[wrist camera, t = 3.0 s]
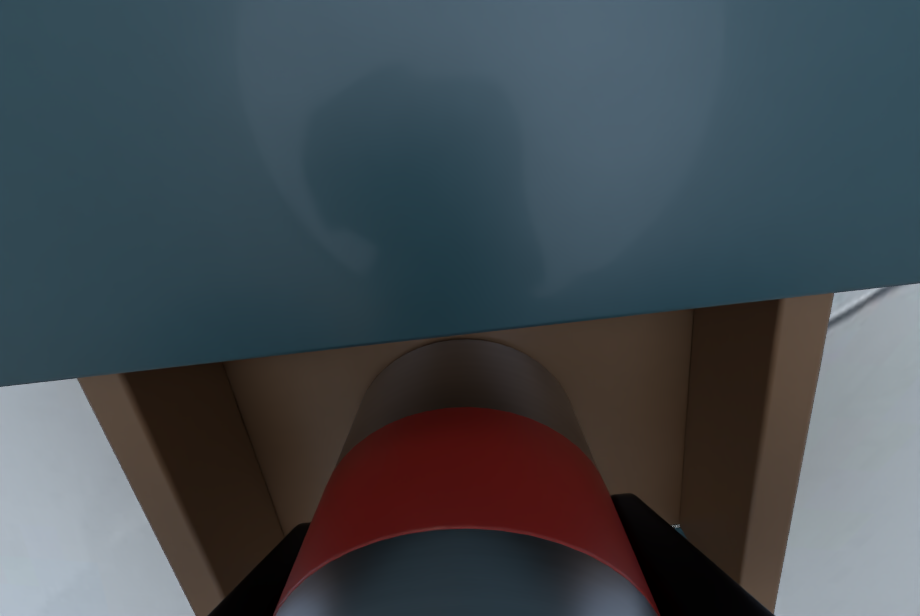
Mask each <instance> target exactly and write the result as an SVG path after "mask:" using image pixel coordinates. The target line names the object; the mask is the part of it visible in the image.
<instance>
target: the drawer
mask: <svg viewBox="0 0 920 616" xmlns="http://www.w3.org/2000/svg"><path fill="white" fill-rule="evenodd" d="M833 296H834V293H828V294H819V295H810V296H801V297H792V298H784V299H775V300H766V301H757V302H748V303H739V304H730V305H721V306H713V307H704V308H695V309H686V310H677V311H668V312H659V313H650V314H642V315H633V316H624V317H615V318H606V319H597V320H588V321H579V322H571V323H562V324H553V325H544V326H535V327H526V328H517V329H508V330H500V331H491V332H482V333H473V334H464V335H455V336H446V337H437V338H429V339H420V340H411V341H402V342H393V343H384V344H375V345H366V346H358V347H349V348H340V349H331V350H322V351H313V352H304V353H295V354H287V355H278V356H269V357H260V358H251V359H242V360H233V361H224V362H216V363H207V364H198V365H189V366H180V367H171V368H162V369H153V370H145V371H136V372H127V373H118V374H109V375H100V376H91V377H82V378H77V379H78V381H79V383H80V385H81V387H82V389H83V391H84V393H85V395H86V397H87V399H88V401H89V403H90V405H91V407H92V409H93V411H94V413H95V415H96V417H97V419H98V421H99V423H100V425H101V427H102V429H103V431H104V433H105V435H106V437H107V439H108V441H109V443H110V445H111V447H112V449H113V451H114V453H115V455H116V457H117V459H118V461H119V463H120V465H121V467H122V469H123V471H124V473H125V475H126V477H127V479H128V481H129V483H130V485H131V487H132V489H133V491H134V493H135V495H136V497H137V499H138V501H139V503H140V505H141V507H142V509H143V511H144V513H145V515H146V517H147V519H148V521H149V523H150V525H151V527H152V529H153V531H154V533H155V535H156V537H157V539H158V541H159V543H160V545H161V547H162V549H163V551H164V553H165V555H166V557H167V559H168V561H169V563H170V565H171V567H172V569H173V571H174V573H175V575H176V577H177V579H178V581H179V583H180V585H181V587H182V589H183V591H184V593H185V595H186V597H187V599H188V601H189V603H190V605H191V607H192V609H193V611H194V613H195V615H196V616H207V615H208V614H209V613H210V612H211V611H212V610H213V609H214V608H215V607H216V606H217V605H218V604H219V603H220V602H221V601H222V600H223V599H224V598H225V597H226V596H227V595H228V594H229V593H230V592H231V591H232V590H233V589H234V588H235V587H236V586H237V585H238V584H239V583H240V582H241V581H242V580H243V579H244V578H245V577H246V576H247V575H248V574H249V573H250V572H251V571H252V570H253V569H254V568H255V567H256V566H257V565H258V564H259V563H260V562H261V561H262V560H263V559H264V558H265V557H266V556H267V555H268V554H269V553H270V552H271V551H272V550H273V549H274V548H275V547H276V546H277V545H278V544H279V543H280V542H281V541H282V539H283V538H284V537H285V536H286V535H287V534H288V533H289V532H290V531H291V530H292V529H293V528H294V527H295V526H297V525H298V524H300V523H308V522H311V521H312V519H313V516H314V514H315V511H316V509H317V507H318V504H319V502H320V499H321V497H322V494H323V492H324V489H325V487H326V485H327V483H328V481H329V479H330V477H331V475H332V473H333V470H334V468H335V465H336V463H337V461H338V458H339V456H340V453H341V451H342V448H343V446H344V443H345V441H346V438H347V436H348V433H349V431H350V429H351V426H352V424H353V421H354V419H355V416H356V414H357V411H358V409H359V406H360V404H361V402H362V400H363V397H364V395H365V393H366V391H367V390H368V388H369V387H370V385H371V384H372V382H373V381H374V380H375V379H376V377H377V376H378V375H379V374H380V373H381V372H382V371H383V370H384V369H385V368H386V367H388V366H389V365H390V364H391V363H393V362H394V361H395V360H397V359H399V358H400V357H402V356H403V355H405V354H407V353H409V352H411V351H413V350H416V349H418V348H420V347H423V346H426V345H430V344H433V343H437V342H443V341H448V340H462V339H470V340H483V341H488V342H493V343H498V344H501V345H504V346H507V347H511V348H513V349H515V350H517V351H520V352H522V353H524V354H526V355H528V356H529V357H531V358H532V359H534V360H535V361H537V362H538V363H540V364H541V365H542V366H543V367H544V368H546V369H547V370H548V371H549V372H550V373H551V374H552V375H553V376H554V378H555V379H556V380H557V381H558V382H559V384H560V385H561V387H562V388H563V390H564V391H565V393H566V395H567V397H568V399H569V402H570V404H571V406H572V409H573V411H574V413H575V416H576V418H577V421H578V423H579V425H580V428H581V430H582V432H583V435H584V437H585V440H586V442H587V444H588V447H589V449H590V452H591V454H592V456H593V459H594V461H595V464H596V466H597V468H598V471H599V473H600V475H601V476H602V479H603V481H604V483H605V485H606V487H607V489H608V492H609V494H610V496H611V495H613V494H624V493H632V494H634V495H636V496H637V497H638V498H640V499H641V500H642V501H643V502H644V503H645V504H647V505H648V506H649V507H650V508H651V509H652V510H654V511H655V512H656V513H657V514H658V515H659V516H660V517H662V518H663V519H664V520H665V521H666V522H667V523H669V524H670V525H677V524H680V528H674V529H675V530H677V531H678V532H679V533H680V534H681V535H682V536H684V537H685V538H686V539H687V540H688V541H689V542H690V543H692V544H693V545H694V546H695V547H696V548H697V549H699V550H700V551H701V552H702V553H703V554H704V555H706V556H707V557H708V558H709V559H710V560H711V561H712V562H714V563H715V564H716V565H717V566H718V567H719V568H721V569H722V570H723V571H724V572H725V573H726V574H727V575H729V576H730V577H731V578H732V579H733V580H734V581H736V582H737V583H738V584H739V585H740V586H741V587H742V588H744V589H745V590H746V591H747V592H748V593H749V594H751V595H752V596H753V597H754V598H755V599H756V600H758V601H759V602H760V603H761V604H762V605H763V606H764V607H766V608H767V609H768V610H769V611H770V612H771V613H773V614H774V609H775V604H776V599H777V593H778V588H779V583H780V577H781V572H782V567H783V562H784V556H785V551H786V546H787V540H788V535H789V530H790V524H791V519H792V514H793V508H794V503H795V498H796V493H797V487H798V482H799V477H800V471H801V466H802V461H803V455H804V450H805V445H806V439H807V434H808V429H809V424H810V418H811V413H812V408H813V402H814V397H815V392H816V386H817V381H818V376H819V370H820V365H821V360H822V355H823V349H824V344H825V339H826V333H827V328H828V323H829V317H830V312H831V307H832V301H833Z"/></svg>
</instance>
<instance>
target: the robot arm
mask: <svg viewBox="0 0 920 616" xmlns="http://www.w3.org/2000/svg"><path fill="white" fill-rule="evenodd" d="M611 499H612V501H613V504H614V506H615V508H616V511H617V513H618V515H619V518H620V520H621V523H622V525H623V527H624V530H625V532H626V534H627V537H628V539H629V542H630V544H631V546H632V549H633V551H634V553H635V556H636V558H637V561H638V563H639V565H640V568H641V570H642V572H643V575H644V577H645V580H646V582H647V584H648V587H649V589H650V591H651V594H652V596H653V599H654V601H655V603H656V606H657V608H658V610H659V613H660V615H661V616H775V615H774V614H773V613H771V612H770V611H769V610H768V609H767V608H766V607H764V606H763V605H762V604H761V603H760V602H759V601H758V600H756V599H755V598H754V597H753V596H752V595H751V594H749V593H748V592H747V591H746V590H745V589H744V588H742V587H741V586H740V585H739V584H738V583H737V582H736V581H734V580H733V579H732V578H731V577H730V576H729V575H727V574H726V573H725V572H724V571H723V570H722V569H721V568H719V567H718V566H717V565H716V564H715V563H714V562H712V561H711V560H710V559H709V558H708V557H707V556H706V555H704V554H703V553H702V552H701V551H700V550H699V549H697V548H696V547H695V546H694V545H693V544H692V543H690V542H689V541H688V540H687V539H686V538H685V537H684V536H682V535H681V534H680V533H679V532H678V531H677V530H675V529H674V528H673V527H672V526H671V525H670V524H669V523H667V522H666V521H665V520H664V519H663V518H662V517H660V516H659V515H658V514H657V513H656V512H655V511H654V510H652V509H651V508H650V507H649V506H648V505H647V504H645V503H644V502H643V501H642V500H641V499H640V498H638V497H637V496H636V495H634V494H632V493H624V494H613V495H611ZM310 524H311V522H308V523H300V524H298V525H297V526H295V527H294V528H293V529H292V530H291V531H290V532H289V533H288V534H287V535H286V536H285V537H284V538H283V539H282V541H281V542H280V543H279V544H278V545H277V546H276V547H275V548H274V549H273V550H272V551H271V552H270V553H269V554H268V555H267V556H266V557H265V558H264V559H263V560H262V561H261V562H260V563H259V564H258V565H257V566H256V567H255V568H254V569H253V570H252V571H251V572H250V573H249V574H248V575H247V576H246V577H245V578H244V579H243V580H242V581H241V582H240V583H239V584H238V585H237V586H236V587H235V588H234V589H233V590H232V591H231V592H230V593H229V594H228V595H227V596H226V597H225V598H224V599H223V600H222V601H221V602H220V603H219V604H218V605H217V606H216V607H215V608H214V609H213V610H212V611H211V612H210V613H209V614H208V615H207V616H273V614H274V611H275V609H276V607H277V604H278V602H279V599H280V597H281V594H282V592H283V589H284V587H285V585H286V582H287V580H288V577H289V575H290V572H291V570H292V567H293V565H294V563H295V560H296V558H297V555H298V553H299V550H300V548H301V546H302V543H303V541H304V538H305V536H306V533H307V531H308V528H309V526H310Z"/></svg>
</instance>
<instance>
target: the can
mask: <svg viewBox="0 0 920 616" xmlns="http://www.w3.org/2000/svg"><path fill="white" fill-rule="evenodd" d="M273 616H661V615H660V613H659V610H658V608H657V606H656V603H655V601H654V599H653V596H652V594H651V591H650V589H649V587H648V584H647V582H646V580H645V577H644V575H643V572H642V570H641V568H640V565H639V563H638V561H637V558H636V556H635V553H634V551H633V549H632V546H631V544H630V542H629V539H628V537H627V534H626V532H625V530H624V527H623V525H622V523H621V520H620V518H619V515H618V513H617V511H616V508H615V506H614V504H613V501H612V499H611V496H610V494H609V492H608V489H607V487H606V485H605V483H604V481H603V479H602V476H601V475H600V473H599V471H598V468H597V466H596V464H595V461H594V459H593V456H592V454H591V452H590V449H589V447H588V444H587V442H586V440H585V437H584V435H583V432H582V430H581V428H580V425H579V423H578V421H577V418H576V416H575V413H574V411H573V409H572V406H571V404H570V402H569V399H568V397H567V395H566V393H565V391H564V390H563V388H562V387H561V385H560V384H559V382H558V381H557V380H556V379H555V378H554V376H553V375H552V374H551V373H550V372H549V371H548V370H547V369H546V368H544V367H543V366H542V365H541V364H540V363H538V362H537V361H535V360H534V359H532V358H531V357H529V356H528V355H526V354H524V353H522V352H520V351H517V350H515V349H513V348H511V347H507V346H504V345H501V344H498V343H493V342H488V341H483V340H470V339H462V340H448V341H443V342H437V343H433V344H430V345H426V346H423V347H420V348H418V349H416V350H413V351H411V352H409V353H407V354H405V355H403V356H402V357H400V358H399V359H397V360H395V361H394V362H393V363H391V364H390V365H389V366H388V367H386V368H385V369H384V370H383V371H382V372H381V373H380V374H379V375H378V376H377V377H376V379H375V380H374V381H373V382H372V384H371V385H370V387H369V388H368V390H367V391H366V393H365V395H364V397H363V400H362V402H361V404H360V406H359V409H358V411H357V414H356V416H355V419H354V421H353V424H352V426H351V429H350V431H349V433H348V436H347V438H346V441H345V443H344V446H343V448H342V451H341V453H340V456H339V458H338V461H337V463H336V465H335V468H334V470H333V473H332V475H331V477H330V479H329V481H328V483H327V485H326V487H325V489H324V492H323V494H322V497H321V499H320V502H319V504H318V507H317V509H316V511H315V514H314V516H313V519H312V521H311V524H310V526H309V528H308V531H307V533H306V536H305V538H304V541H303V543H302V546H301V548H300V550H299V553H298V555H297V558H296V560H295V563H294V565H293V567H292V570H291V572H290V575H289V577H288V580H287V582H286V585H285V587H284V589H283V592H282V594H281V597H280V599H279V602H278V604H277V607H276V609H275V611H274V614H273Z"/></svg>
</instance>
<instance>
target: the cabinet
mask: <svg viewBox="0 0 920 616" xmlns="http://www.w3.org/2000/svg"><path fill="white" fill-rule="evenodd" d="M917 283H920V0H0V387H3V386H11V385H20V384H29V383H38V382H47V381H56V380H65V379H74V378H82V377H91V376H100V375H109V374H118V373H127V372H136V371H145V370H153V369H162V368H171V367H180V366H189V365H198V364H207V363H216V362H224V361H233V360H242V359H251V358H260V357H269V356H278V355H287V354H295V353H304V352H313V351H322V350H331V349H340V348H349V347H358V346H366V345H375V344H384V343H393V342H402V341H411V340H420V339H429V338H437V337H446V336H455V335H464V334H473V333H482V332H491V331H500V330H508V329H517V328H526V327H535V326H544V325H553V324H562V323H571V322H579V321H588V320H597V319H606V318H615V317H624V316H633V315H642V314H650V313H659V312H668V311H677V310H686V309H695V308H704V307H713V306H721V305H730V304H739V303H748V302H757V301H766V300H775V299H784V298H792V297H801V296H810V295H819V294H828V293H837V292H846V291H855V290H863V289H872V288H881V287H890V286H899V285H908V284H917Z"/></svg>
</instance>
